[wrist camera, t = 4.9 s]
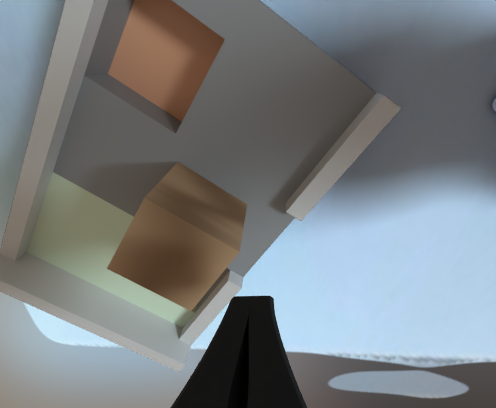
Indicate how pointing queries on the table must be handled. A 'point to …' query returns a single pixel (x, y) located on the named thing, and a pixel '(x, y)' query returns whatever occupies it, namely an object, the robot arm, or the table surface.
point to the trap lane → (172, 151)
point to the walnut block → (181, 237)
